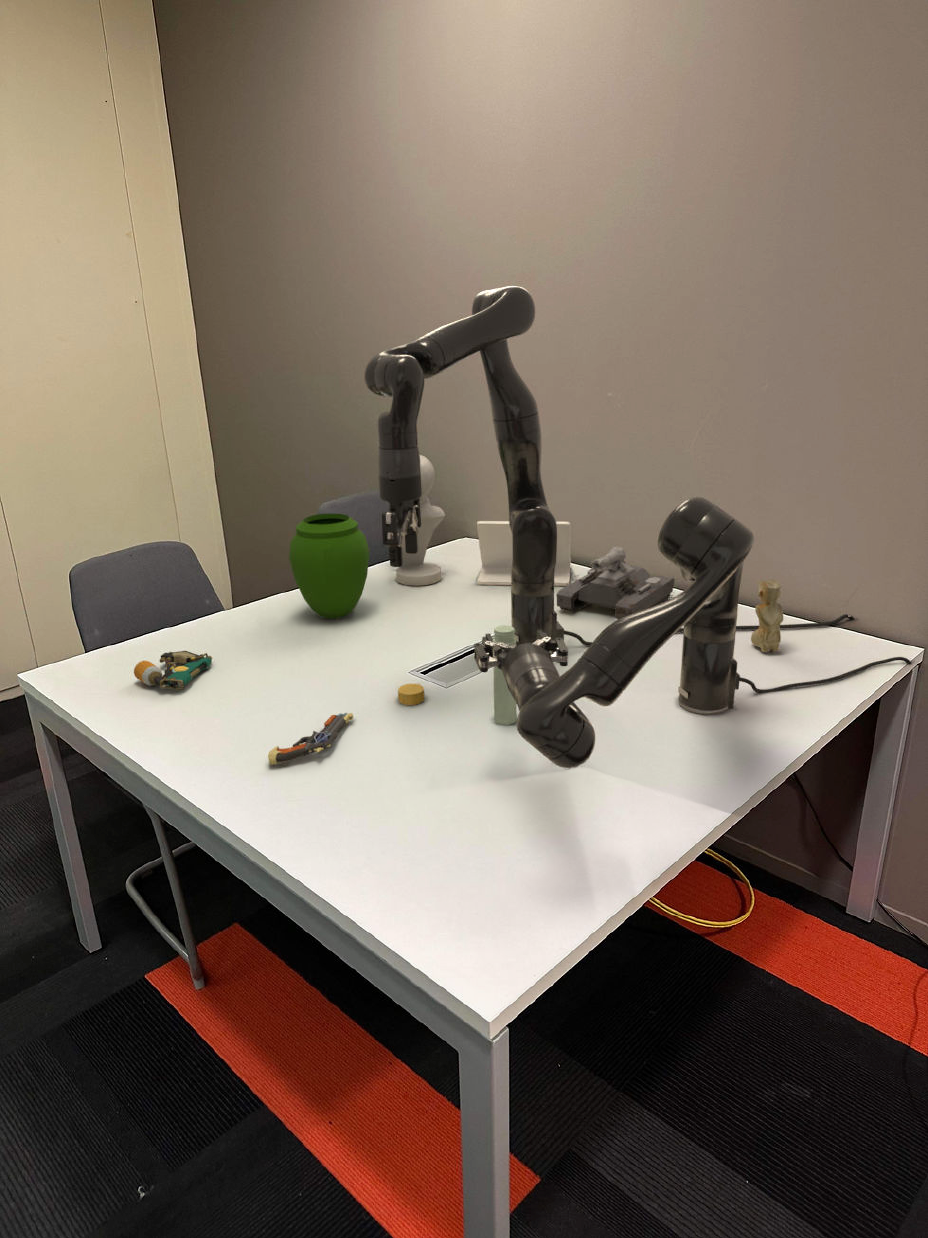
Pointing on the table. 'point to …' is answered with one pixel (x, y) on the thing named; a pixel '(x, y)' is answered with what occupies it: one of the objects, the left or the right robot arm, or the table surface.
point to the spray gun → (172, 669)
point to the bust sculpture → (422, 536)
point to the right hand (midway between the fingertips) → (513, 637)
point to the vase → (329, 563)
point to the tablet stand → (500, 553)
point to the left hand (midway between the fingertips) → (404, 559)
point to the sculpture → (768, 617)
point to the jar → (503, 682)
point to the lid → (411, 694)
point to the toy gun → (312, 740)
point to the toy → (615, 587)
